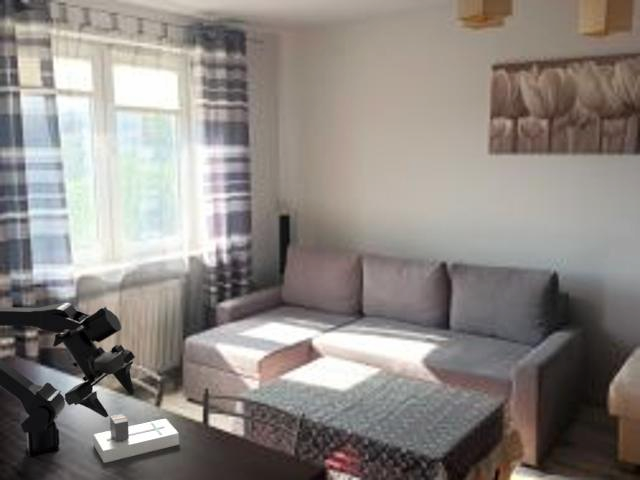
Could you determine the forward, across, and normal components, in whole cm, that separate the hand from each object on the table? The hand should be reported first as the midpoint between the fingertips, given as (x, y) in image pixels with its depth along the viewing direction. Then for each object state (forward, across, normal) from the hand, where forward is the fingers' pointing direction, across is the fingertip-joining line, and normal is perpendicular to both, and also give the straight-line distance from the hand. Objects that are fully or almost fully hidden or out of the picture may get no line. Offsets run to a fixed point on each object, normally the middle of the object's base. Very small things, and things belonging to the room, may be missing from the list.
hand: (120, 405), depth 154 cm
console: (+11, 0, +3) cm, 11 cm away
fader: (+6, -3, +3) cm, 8 cm away
